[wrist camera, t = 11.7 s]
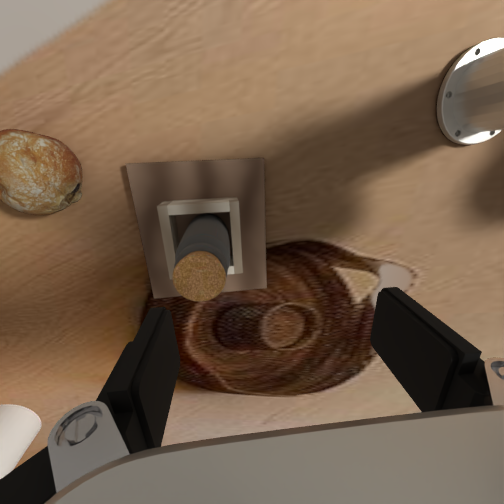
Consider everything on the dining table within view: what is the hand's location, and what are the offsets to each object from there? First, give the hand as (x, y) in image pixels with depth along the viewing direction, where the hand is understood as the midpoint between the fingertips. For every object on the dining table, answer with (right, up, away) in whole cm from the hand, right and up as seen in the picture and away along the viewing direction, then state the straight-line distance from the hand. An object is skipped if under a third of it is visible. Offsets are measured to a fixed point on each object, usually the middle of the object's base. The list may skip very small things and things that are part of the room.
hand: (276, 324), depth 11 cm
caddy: (-8, +6, +26) cm, 28 cm away
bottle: (-8, +6, +25) cm, 27 cm away
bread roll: (-28, +14, +21) cm, 38 cm away
